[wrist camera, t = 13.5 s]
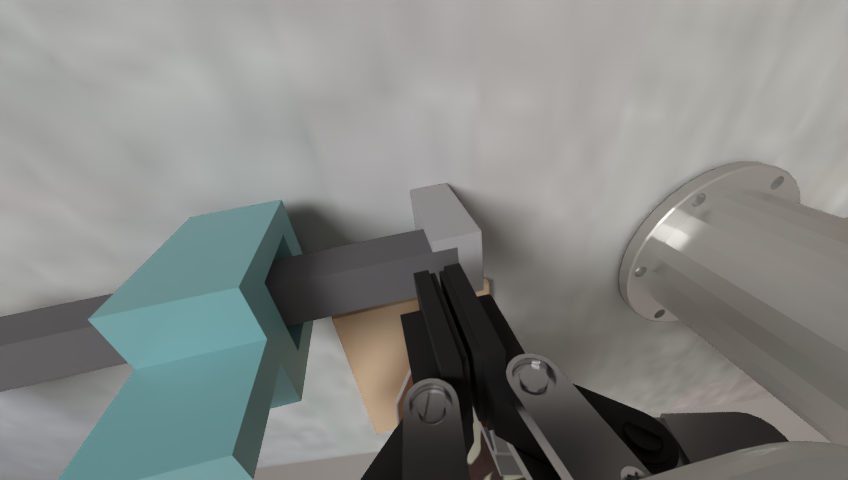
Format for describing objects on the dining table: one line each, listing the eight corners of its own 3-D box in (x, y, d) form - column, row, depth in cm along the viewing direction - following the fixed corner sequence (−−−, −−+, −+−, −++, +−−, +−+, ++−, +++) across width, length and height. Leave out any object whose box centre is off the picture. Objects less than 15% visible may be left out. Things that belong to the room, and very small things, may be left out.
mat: (485, 277, 21) (489, 283, 20) (490, 396, 28) (492, 402, 27) (332, 312, 20) (332, 319, 19) (375, 426, 27) (375, 433, 26)
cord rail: (445, 174, 17) (507, 254, 10) (451, 238, 19) (507, 341, 12) (-193, 297, 14) (-702, 523, 7) (-104, 357, 16) (-436, 576, 9)
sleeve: (281, 199, 15) (183, 399, 6) (317, 291, 18) (283, 515, 9) (190, 217, 14) (-49, 455, 6) (242, 308, 17) (132, 558, 9)
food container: (459, 415, 27) (508, 580, 19) (389, 414, 25) (408, 597, 17) (523, 304, 22) (631, 461, 13) (441, 292, 20) (507, 467, 12)
